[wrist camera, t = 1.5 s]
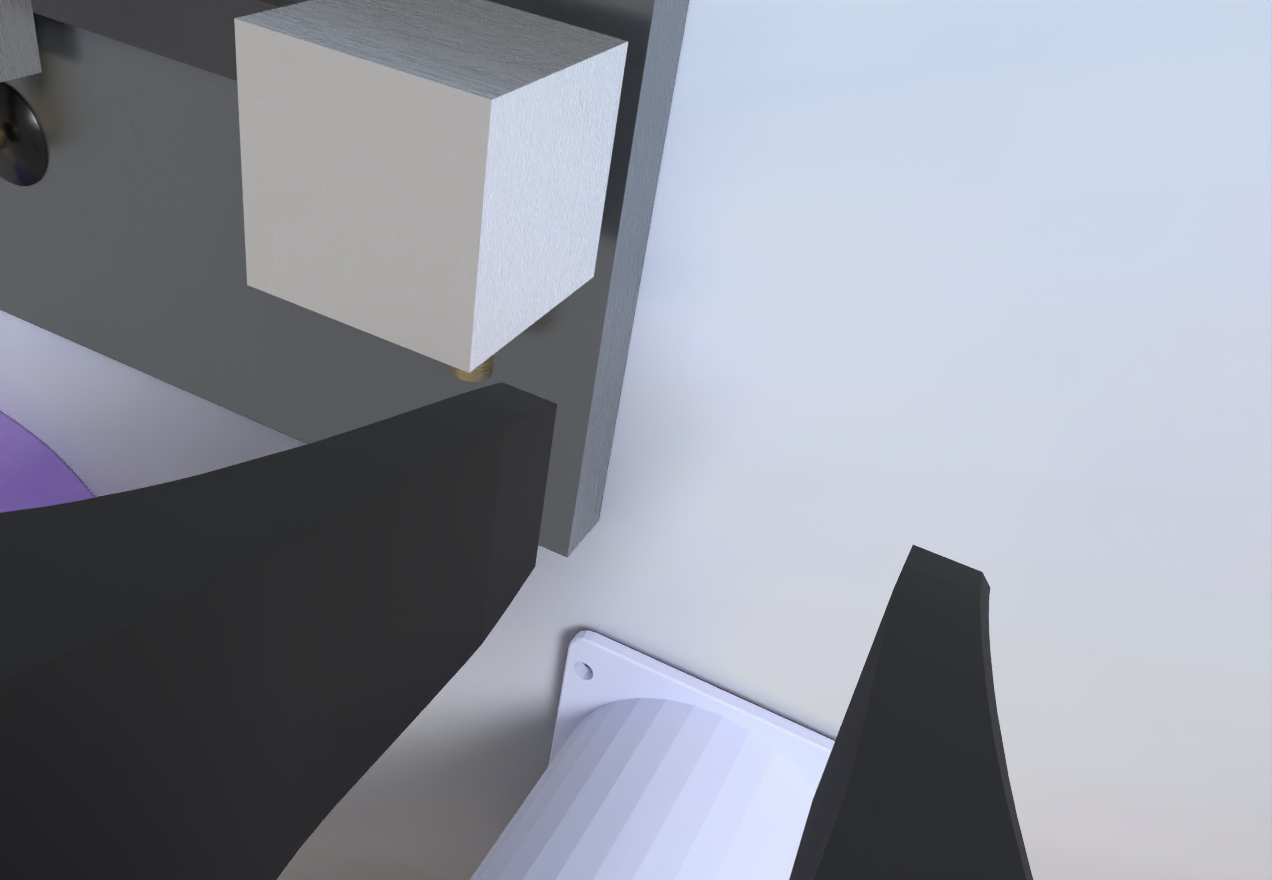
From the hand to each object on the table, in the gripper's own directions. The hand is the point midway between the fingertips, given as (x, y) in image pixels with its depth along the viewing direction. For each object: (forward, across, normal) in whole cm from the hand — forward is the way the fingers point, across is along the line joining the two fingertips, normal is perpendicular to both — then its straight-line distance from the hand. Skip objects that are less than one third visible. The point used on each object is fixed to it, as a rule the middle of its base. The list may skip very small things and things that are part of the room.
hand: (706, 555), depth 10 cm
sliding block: (+9, +7, +1) cm, 11 cm away
